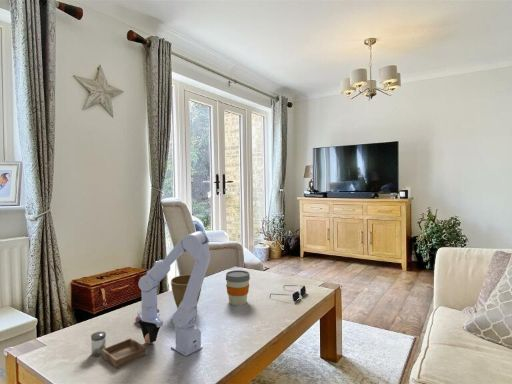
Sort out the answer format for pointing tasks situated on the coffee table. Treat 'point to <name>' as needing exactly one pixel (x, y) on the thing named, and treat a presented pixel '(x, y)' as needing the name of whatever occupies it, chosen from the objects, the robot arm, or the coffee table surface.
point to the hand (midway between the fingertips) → (149, 339)
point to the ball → (147, 339)
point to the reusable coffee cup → (237, 286)
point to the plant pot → (180, 288)
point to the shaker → (98, 343)
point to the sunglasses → (296, 294)
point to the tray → (123, 352)
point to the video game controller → (140, 318)
